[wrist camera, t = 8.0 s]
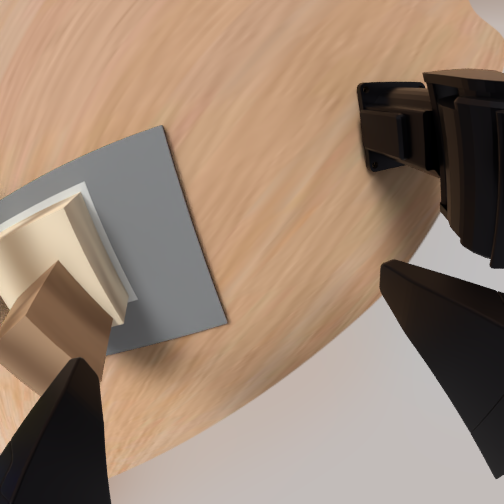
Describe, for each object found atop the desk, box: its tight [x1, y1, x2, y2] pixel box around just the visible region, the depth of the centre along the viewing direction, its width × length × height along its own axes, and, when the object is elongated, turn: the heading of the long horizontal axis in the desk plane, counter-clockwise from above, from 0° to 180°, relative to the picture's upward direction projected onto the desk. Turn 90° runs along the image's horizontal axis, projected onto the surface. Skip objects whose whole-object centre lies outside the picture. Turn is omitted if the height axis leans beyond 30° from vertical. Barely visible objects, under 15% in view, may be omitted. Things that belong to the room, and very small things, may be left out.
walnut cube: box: [0, 260, 113, 396], centre depth 13 cm, size 5×5×5 cm
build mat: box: [0, 125, 227, 356], centre depth 18 cm, size 16×15×1 cm
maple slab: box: [0, 192, 129, 327], centre depth 15 cm, size 8×8×3 cm
